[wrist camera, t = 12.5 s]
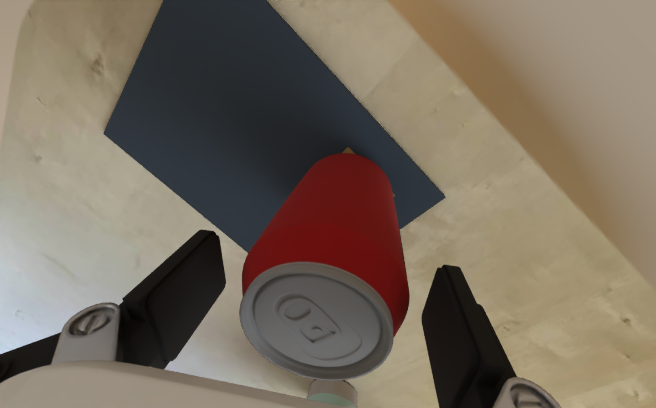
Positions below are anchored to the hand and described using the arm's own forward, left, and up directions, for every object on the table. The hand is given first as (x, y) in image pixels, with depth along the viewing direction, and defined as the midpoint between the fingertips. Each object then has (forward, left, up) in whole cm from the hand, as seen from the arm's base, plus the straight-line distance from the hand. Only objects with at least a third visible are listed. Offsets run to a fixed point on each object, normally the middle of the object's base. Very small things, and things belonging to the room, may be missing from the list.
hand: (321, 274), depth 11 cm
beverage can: (0, 0, -10) cm, 10 cm away
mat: (-6, -3, -10) cm, 12 cm away
